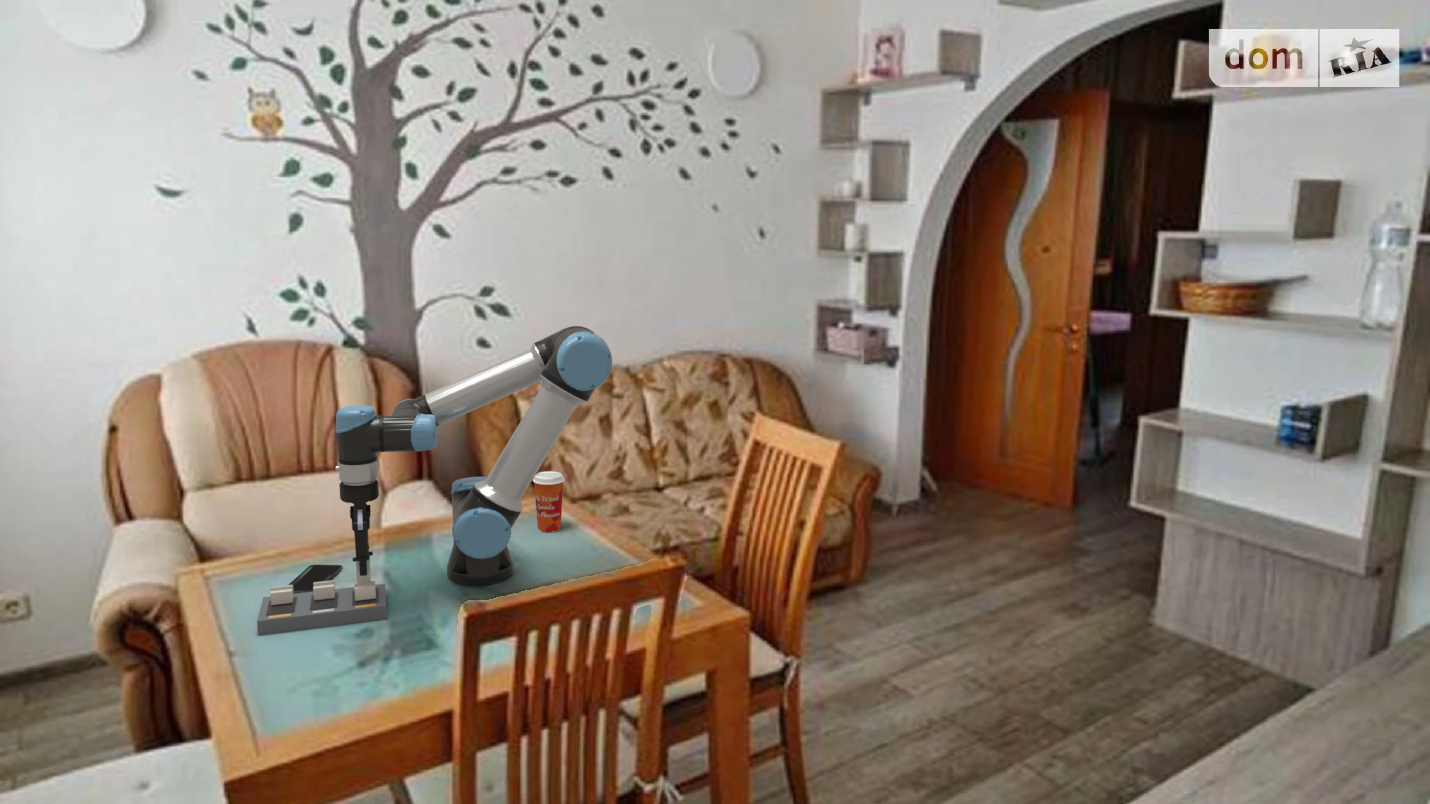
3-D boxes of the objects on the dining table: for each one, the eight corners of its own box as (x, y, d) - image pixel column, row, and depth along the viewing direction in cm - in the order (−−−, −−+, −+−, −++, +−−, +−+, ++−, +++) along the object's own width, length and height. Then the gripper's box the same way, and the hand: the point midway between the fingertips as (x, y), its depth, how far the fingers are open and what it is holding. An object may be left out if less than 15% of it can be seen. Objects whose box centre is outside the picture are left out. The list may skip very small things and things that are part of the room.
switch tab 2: (335, 592, 192) (334, 578, 192) (334, 597, 190) (333, 583, 189) (314, 594, 191) (313, 580, 190) (313, 600, 188) (312, 585, 187)
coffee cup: (529, 532, 240) (528, 478, 237) (540, 522, 248) (539, 469, 245) (559, 535, 239) (558, 480, 236) (569, 524, 247) (569, 471, 244)
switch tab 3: (375, 592, 192) (374, 578, 192) (375, 598, 190) (375, 584, 189) (355, 595, 191) (354, 580, 190) (355, 600, 188) (354, 586, 188)
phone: (281, 590, 199) (310, 564, 213) (282, 595, 199) (311, 568, 214) (318, 591, 199) (344, 565, 214) (318, 596, 199) (344, 569, 214)
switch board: (385, 596, 199) (385, 583, 198) (387, 619, 188) (386, 605, 187) (264, 610, 190) (263, 596, 190) (258, 635, 179) (256, 620, 179)
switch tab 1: (293, 596, 189) (292, 582, 189) (292, 602, 187) (291, 588, 186) (272, 599, 188) (271, 584, 187) (271, 605, 185) (270, 590, 185)
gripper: (340, 473, 192) (346, 577, 197) (337, 491, 180) (344, 602, 185) (378, 470, 195) (383, 574, 199) (378, 488, 183) (383, 597, 187)
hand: (364, 587), depth 192 cm, fingers closed
